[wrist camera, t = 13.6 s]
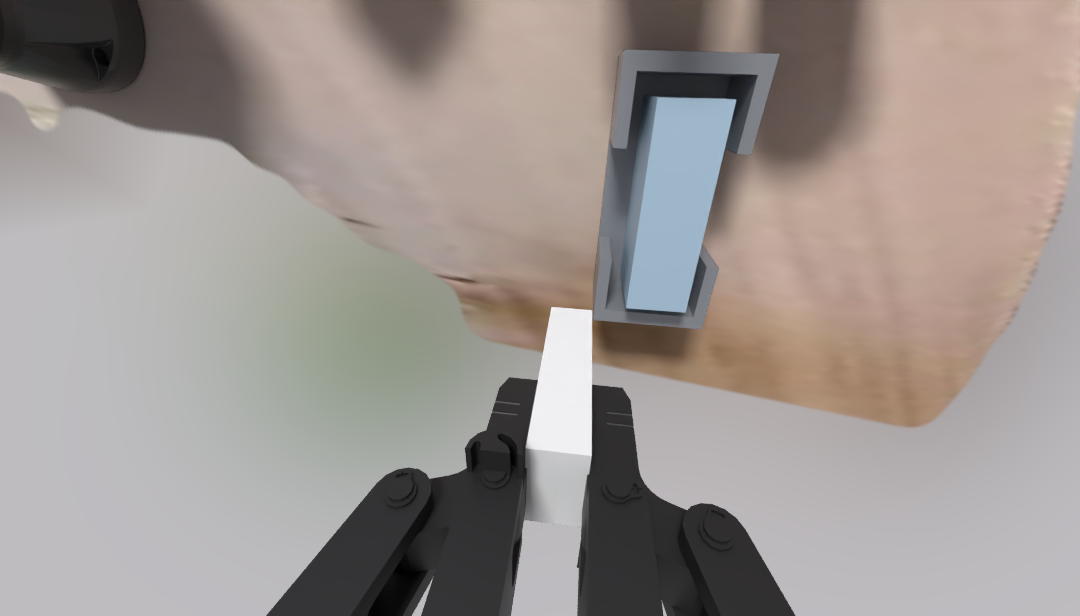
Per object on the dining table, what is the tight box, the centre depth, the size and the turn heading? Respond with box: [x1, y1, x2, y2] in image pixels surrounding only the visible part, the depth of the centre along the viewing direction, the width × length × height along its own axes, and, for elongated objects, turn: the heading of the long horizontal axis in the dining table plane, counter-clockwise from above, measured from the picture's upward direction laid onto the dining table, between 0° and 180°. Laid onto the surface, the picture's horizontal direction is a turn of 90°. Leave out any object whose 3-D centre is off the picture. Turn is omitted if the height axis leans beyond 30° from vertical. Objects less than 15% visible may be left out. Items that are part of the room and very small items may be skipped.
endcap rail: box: [593, 49, 780, 329], centre depth 34 cm, size 10×21×7 cm, turn 178°
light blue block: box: [620, 95, 736, 313], centre depth 33 cm, size 5×16×8 cm, turn 178°
